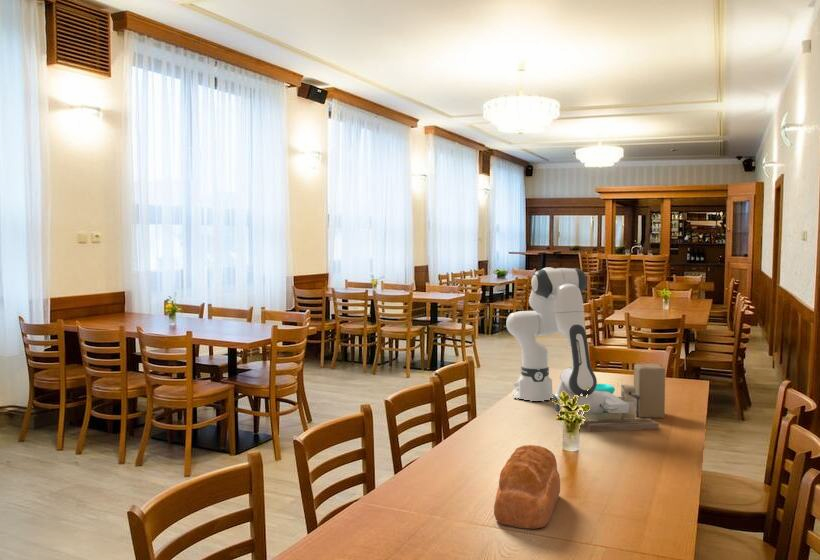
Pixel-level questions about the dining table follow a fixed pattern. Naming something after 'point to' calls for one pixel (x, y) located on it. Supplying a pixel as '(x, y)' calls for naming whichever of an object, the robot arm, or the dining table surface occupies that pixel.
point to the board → (621, 425)
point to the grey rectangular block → (650, 390)
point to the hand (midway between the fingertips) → (630, 401)
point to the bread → (527, 488)
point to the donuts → (605, 389)
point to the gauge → (627, 396)
